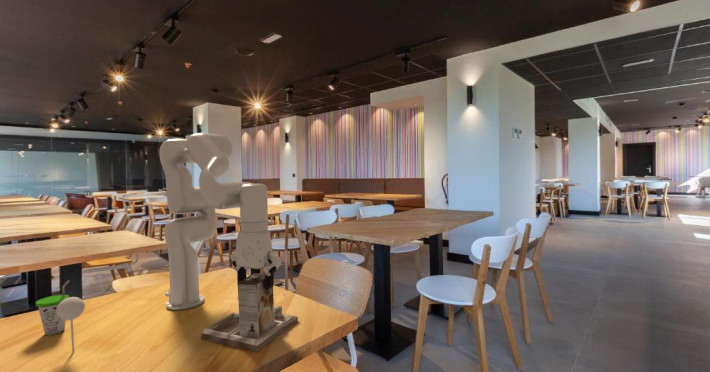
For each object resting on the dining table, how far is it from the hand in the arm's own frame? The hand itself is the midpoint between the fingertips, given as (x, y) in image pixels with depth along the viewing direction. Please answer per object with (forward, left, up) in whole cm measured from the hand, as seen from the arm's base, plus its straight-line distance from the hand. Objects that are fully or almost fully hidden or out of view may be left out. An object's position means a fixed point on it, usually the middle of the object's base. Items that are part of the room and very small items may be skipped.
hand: (255, 285), depth 99 cm
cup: (-61, -20, -15) cm, 66 cm away
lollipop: (-42, -25, -15) cm, 51 cm away
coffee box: (0, 0, -14) cm, 14 cm away
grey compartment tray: (-5, +3, -15) cm, 16 cm away
